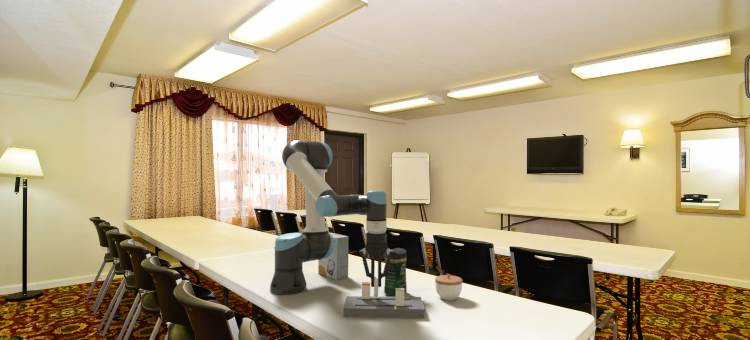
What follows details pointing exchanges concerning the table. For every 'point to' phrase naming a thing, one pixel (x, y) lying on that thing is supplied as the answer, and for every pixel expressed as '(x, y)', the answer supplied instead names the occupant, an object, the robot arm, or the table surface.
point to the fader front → (399, 297)
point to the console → (383, 307)
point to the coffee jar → (396, 272)
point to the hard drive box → (336, 259)
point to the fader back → (365, 290)
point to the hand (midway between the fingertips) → (376, 295)
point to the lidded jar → (448, 286)
